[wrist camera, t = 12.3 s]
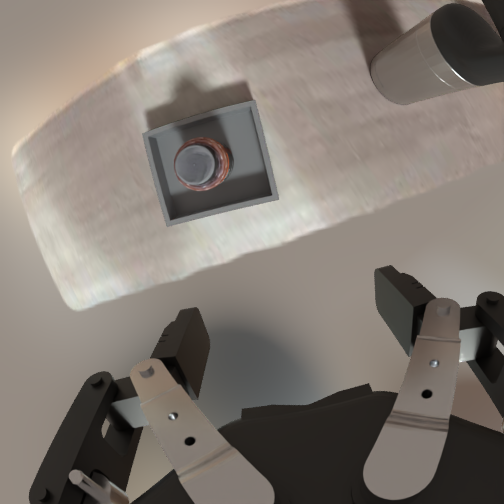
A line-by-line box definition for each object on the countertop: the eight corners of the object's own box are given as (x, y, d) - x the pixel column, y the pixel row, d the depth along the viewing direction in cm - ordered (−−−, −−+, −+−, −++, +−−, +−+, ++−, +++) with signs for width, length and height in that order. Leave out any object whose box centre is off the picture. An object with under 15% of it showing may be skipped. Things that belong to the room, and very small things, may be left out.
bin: (255, 105, 34) (255, 99, 30) (277, 195, 38) (279, 199, 34) (152, 135, 36) (142, 133, 32) (175, 220, 39) (166, 226, 36)
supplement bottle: (189, 144, 35) (162, 138, 24) (232, 138, 35) (222, 129, 24) (193, 186, 37) (168, 197, 26) (236, 182, 37) (228, 191, 26)
